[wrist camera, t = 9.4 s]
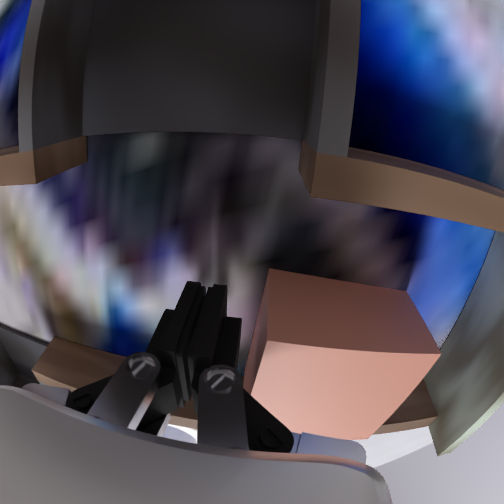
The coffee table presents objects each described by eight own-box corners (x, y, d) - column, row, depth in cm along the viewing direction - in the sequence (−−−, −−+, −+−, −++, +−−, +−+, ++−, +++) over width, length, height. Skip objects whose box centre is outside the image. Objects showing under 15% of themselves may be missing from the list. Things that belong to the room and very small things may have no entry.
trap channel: (387, 434, 20) (398, 489, 15) (-7, 359, 21) (-31, 393, 15) (533, 66, 6) (613, 78, 1) (-74, 88, 7) (-122, 103, 2)
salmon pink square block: (354, 378, 16) (367, 438, 12) (244, 368, 16) (237, 434, 12) (405, 289, 13) (441, 353, 9) (269, 267, 13) (267, 340, 9)
